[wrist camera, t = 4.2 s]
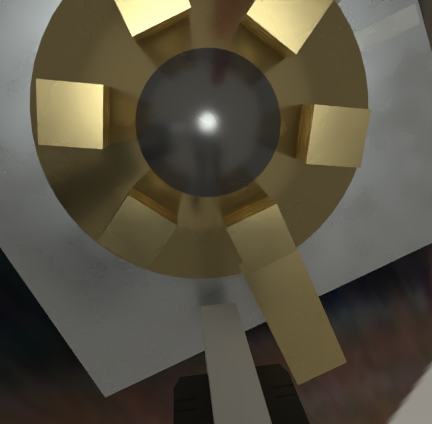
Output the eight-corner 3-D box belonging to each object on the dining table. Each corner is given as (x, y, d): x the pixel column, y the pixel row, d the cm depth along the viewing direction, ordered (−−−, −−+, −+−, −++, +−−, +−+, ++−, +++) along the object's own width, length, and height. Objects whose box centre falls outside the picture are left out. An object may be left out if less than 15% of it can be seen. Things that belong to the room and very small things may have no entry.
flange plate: (111, 370, 21) (90, 460, 16) (-143, -7, 15) (-309, -64, 10) (455, 206, 21) (553, 242, 15) (328, -246, 15) (413, -438, 10)
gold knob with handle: (0, 47, 14) (-72, 23, 10) (271, -89, 14) (313, -170, 10) (196, 377, 19) (203, 455, 15) (401, 281, 19) (467, 332, 15)
